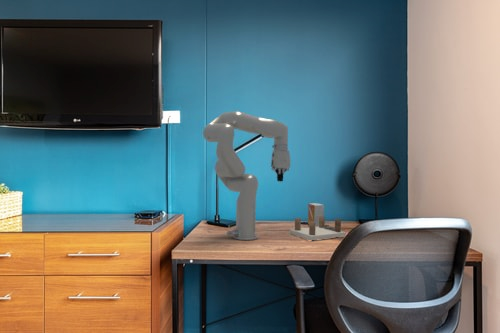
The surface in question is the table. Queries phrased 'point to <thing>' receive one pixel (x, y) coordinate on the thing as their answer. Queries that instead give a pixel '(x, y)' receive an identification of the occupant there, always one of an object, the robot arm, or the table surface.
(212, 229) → the table surface
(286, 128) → the robot arm
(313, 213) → the small box
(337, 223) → the grey and brown lever
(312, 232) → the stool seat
